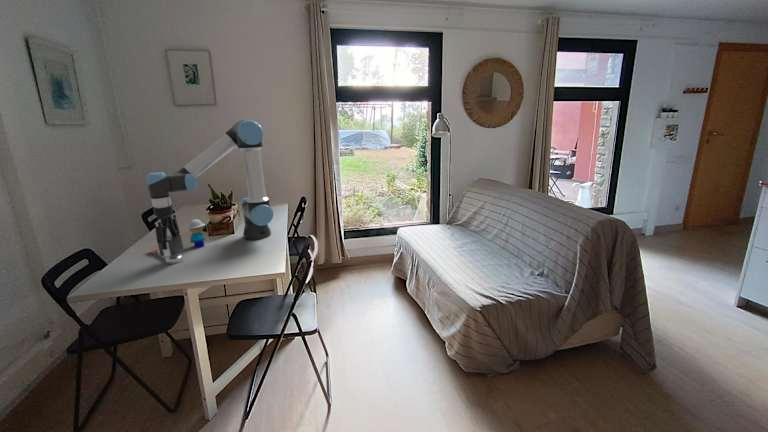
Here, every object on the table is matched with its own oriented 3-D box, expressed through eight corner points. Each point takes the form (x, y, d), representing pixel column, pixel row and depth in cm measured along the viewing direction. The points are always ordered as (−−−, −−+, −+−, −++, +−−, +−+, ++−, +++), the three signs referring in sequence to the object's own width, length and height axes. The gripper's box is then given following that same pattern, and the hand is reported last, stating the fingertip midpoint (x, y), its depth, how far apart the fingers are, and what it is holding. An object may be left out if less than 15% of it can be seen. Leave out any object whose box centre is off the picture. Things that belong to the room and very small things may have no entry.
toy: (212, 244, 189) (207, 217, 184) (198, 249, 181) (192, 222, 177) (201, 242, 192) (196, 216, 188) (187, 247, 185) (181, 221, 180)
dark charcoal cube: (183, 249, 168) (180, 235, 166) (175, 255, 162) (172, 240, 160) (169, 250, 168) (166, 235, 166) (160, 255, 162) (157, 240, 160)
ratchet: (147, 252, 179) (144, 241, 177) (162, 248, 184) (159, 237, 182) (169, 265, 162) (166, 252, 160) (185, 260, 167) (182, 248, 165)
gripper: (166, 201, 168) (176, 245, 175) (139, 212, 149) (151, 260, 155) (182, 200, 168) (190, 244, 175) (157, 211, 149) (168, 260, 155)
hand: (172, 252), depth 165 cm, fingers closed on dark charcoal cube, 7 cm apart
